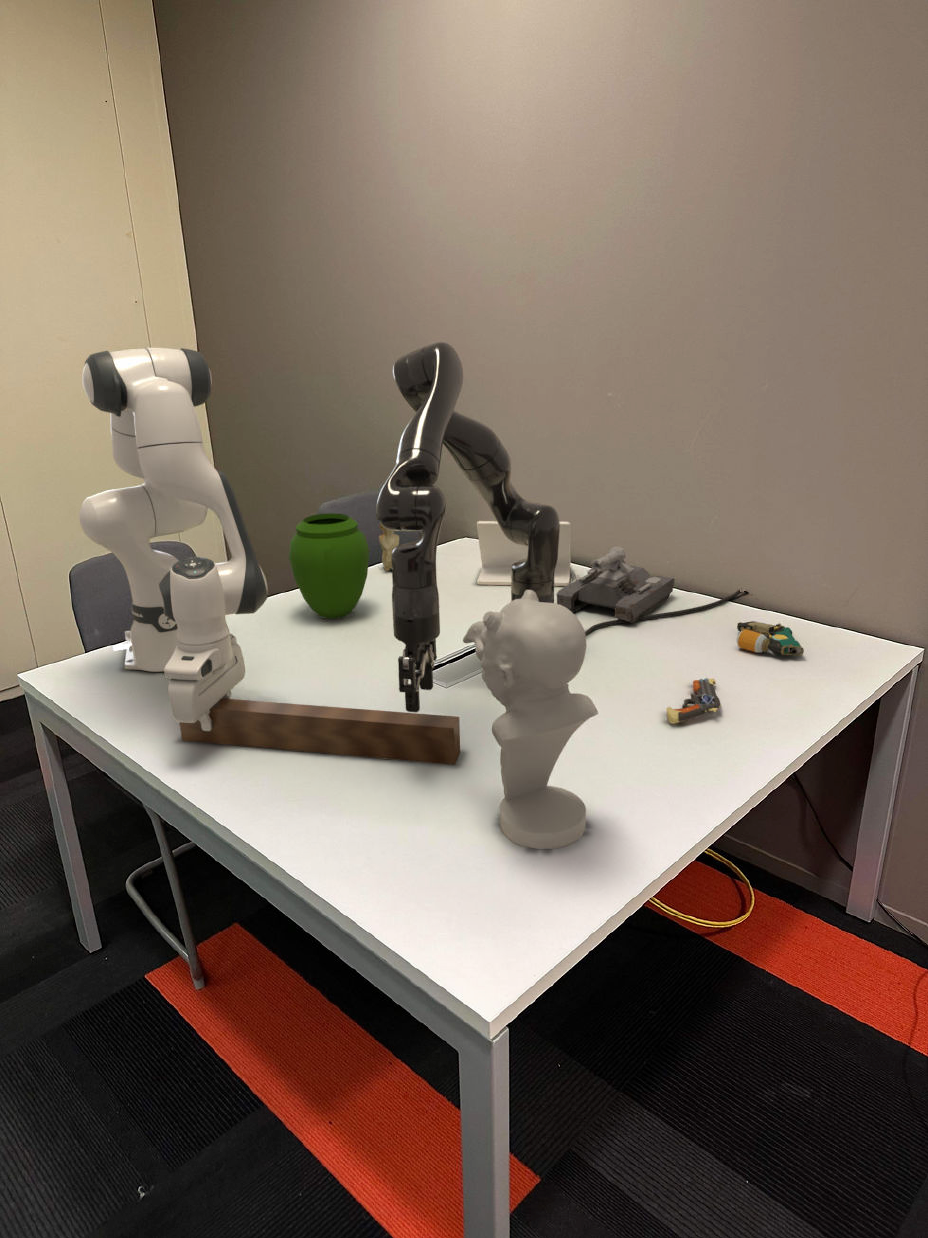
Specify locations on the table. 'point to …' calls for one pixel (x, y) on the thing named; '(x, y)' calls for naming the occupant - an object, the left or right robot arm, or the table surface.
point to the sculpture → (388, 546)
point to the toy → (617, 588)
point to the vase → (329, 563)
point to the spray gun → (767, 638)
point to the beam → (331, 730)
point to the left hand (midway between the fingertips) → (216, 722)
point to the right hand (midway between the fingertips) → (419, 699)
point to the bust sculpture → (534, 714)
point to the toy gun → (696, 702)
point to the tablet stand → (515, 555)
